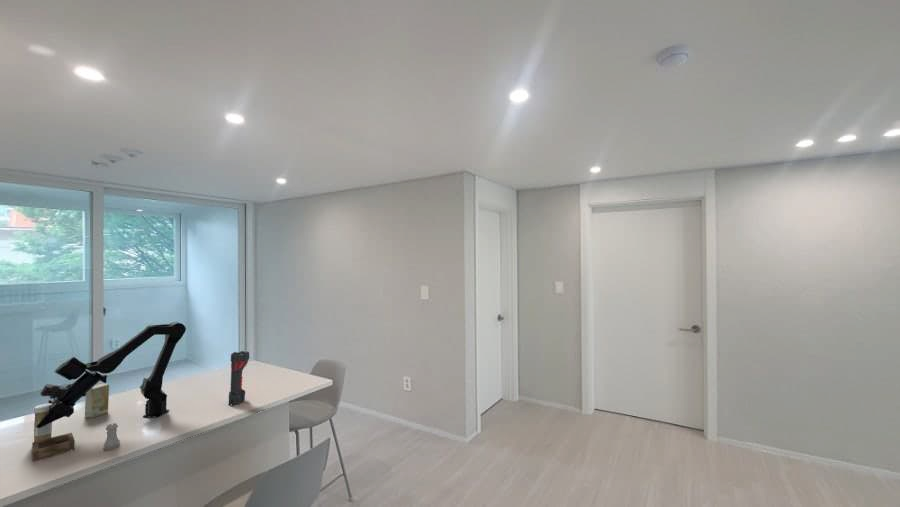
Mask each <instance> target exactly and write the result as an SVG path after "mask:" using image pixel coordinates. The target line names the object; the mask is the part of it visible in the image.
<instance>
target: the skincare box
mask: <svg viewBox="0 0 900 507" xmlns="http://www.w3.org/2000/svg"><path fill="white" fill-rule="evenodd" d="M86 394H87V395H86V396H85V397H84V398H85V402H84V418H91V419H92V418H95V417H99V416H102V415H105V414H107V413H109V400H110V399H109V396H110V384H107V383H100V384H96V385H95V386H94V387H92V388H91V389H90V390H89V391H88V392H87V393H86Z"/></svg>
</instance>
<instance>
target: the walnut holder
mask: <svg viewBox="0 0 900 507" xmlns="http://www.w3.org/2000/svg"><path fill="white" fill-rule="evenodd" d="M75 444H76V441H75V437H74V434H73V432H69V433H68V432H67V433H64V434H59V435H57V436H53V437H52V436H51V438H48V439H44V440H40V441H36V442H34V441H33V442H32V444H31V454H32V455H31V456H32V462H36V460H37V461H40V459H41V460H44V459H48V458H51V457H55V456H58V454H59V455H62V454H65V452H66V453H69V452H72V451H71V450H73V451H75V449H76V448H75V446H76V445H75ZM68 451H69V452H68ZM54 455H55V456H54ZM47 457H48V458H47Z"/></svg>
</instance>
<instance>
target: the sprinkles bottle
mask: <svg viewBox="0 0 900 507" xmlns="http://www.w3.org/2000/svg"><path fill="white" fill-rule="evenodd" d="M52 405H53V404H51V403H43V404H38V405H35V407H33V414H34V422H33V423H34V424H33V436H34V437H33V442H36V441H40V440H44V439H48V438H52V433H53V432H52V430H53V422H51V423H49V424H47V425H45V426H43V427H41V428H37V427H36V426H37V425H38V424H39V422H40V421H41V420H42V419H43V418H44V417H45V416H46V415H47V413H48V412H49V406H52Z"/></svg>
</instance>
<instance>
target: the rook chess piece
mask: <svg viewBox="0 0 900 507" xmlns="http://www.w3.org/2000/svg"><path fill="white" fill-rule="evenodd" d="M117 428H119V425H118V424H117V422H113V423H109V424H107V426H106V427H105V430H106V431H107V432H106V439H105V440H106V441H104V443H103V445H102V449H103V450H105V451H111V450H110V449H112V450H114V448H115V449H117V448H118V447H119V446H120V445H121V443H120V439H119V438H118V434H117V432H118V430H117ZM116 447H117V448H116Z"/></svg>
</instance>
